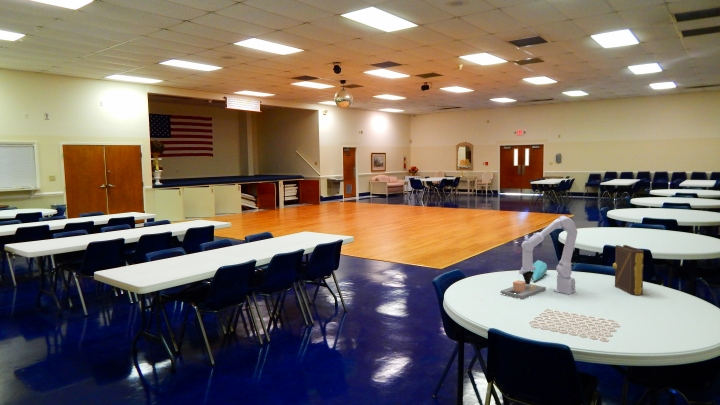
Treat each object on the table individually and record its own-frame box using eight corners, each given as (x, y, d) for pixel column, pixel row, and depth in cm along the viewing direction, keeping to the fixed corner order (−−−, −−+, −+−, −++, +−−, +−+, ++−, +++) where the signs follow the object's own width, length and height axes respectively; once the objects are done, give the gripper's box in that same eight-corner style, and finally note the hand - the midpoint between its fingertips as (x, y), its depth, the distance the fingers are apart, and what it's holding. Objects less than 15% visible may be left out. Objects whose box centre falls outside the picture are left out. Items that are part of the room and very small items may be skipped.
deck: (545, 290, 275) (545, 283, 274) (522, 299, 259) (522, 291, 259) (524, 286, 286) (524, 278, 285) (500, 294, 270) (500, 286, 270)
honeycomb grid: (545, 310, 241) (545, 308, 241) (622, 323, 219) (622, 321, 219) (525, 326, 218) (525, 324, 218) (608, 343, 196) (608, 341, 196)
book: (646, 295, 260) (647, 251, 258) (630, 295, 260) (631, 251, 258) (624, 284, 282) (625, 244, 280) (610, 285, 282) (611, 244, 280)
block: (525, 290, 269) (525, 281, 269) (520, 292, 266) (520, 283, 266) (517, 288, 273) (517, 280, 273) (513, 290, 270) (513, 281, 270)
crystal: (530, 290, 293) (523, 276, 293) (537, 270, 323) (531, 257, 323) (546, 286, 288) (539, 271, 288) (552, 266, 318) (545, 253, 318)
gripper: (528, 258, 281) (528, 280, 282) (514, 262, 272) (514, 285, 273) (538, 259, 276) (538, 282, 277) (525, 264, 267) (525, 287, 268)
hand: (527, 283), depth 275 cm, fingers closed
